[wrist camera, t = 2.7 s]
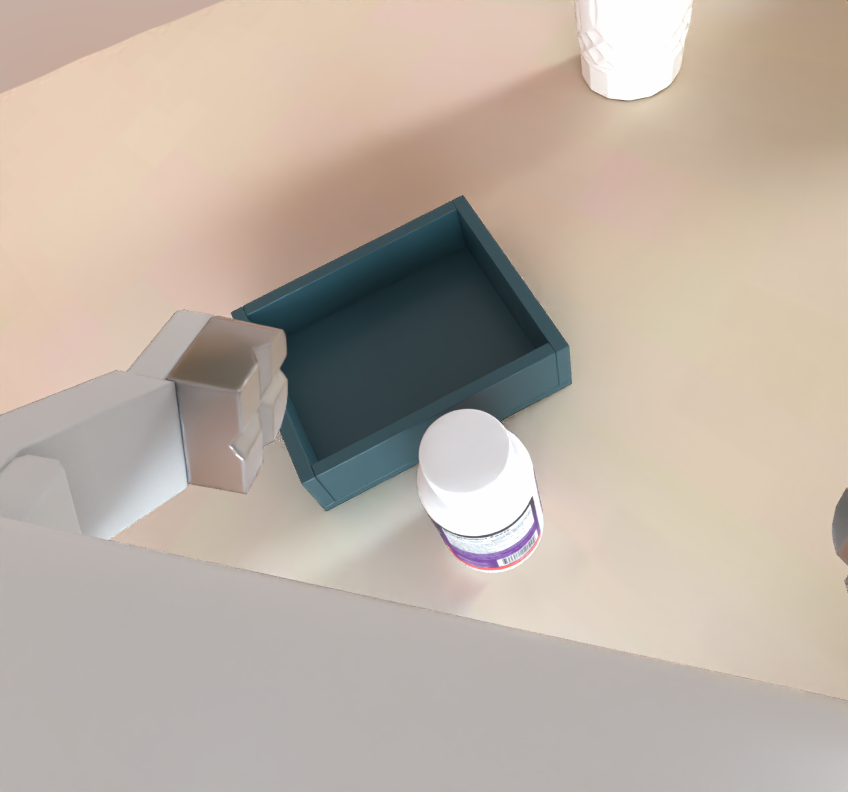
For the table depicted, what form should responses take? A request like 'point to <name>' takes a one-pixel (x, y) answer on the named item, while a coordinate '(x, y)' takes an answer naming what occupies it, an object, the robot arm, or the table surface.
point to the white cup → (631, 44)
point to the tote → (404, 348)
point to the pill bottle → (480, 490)
